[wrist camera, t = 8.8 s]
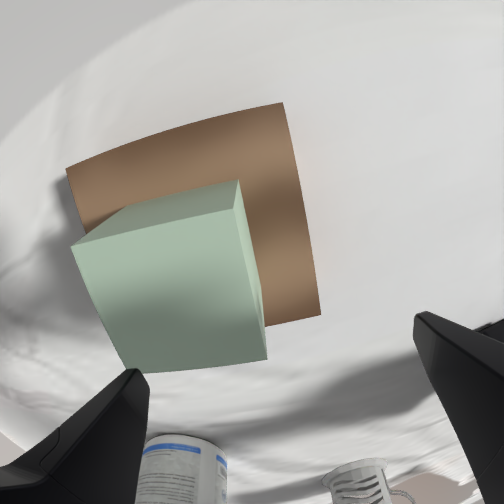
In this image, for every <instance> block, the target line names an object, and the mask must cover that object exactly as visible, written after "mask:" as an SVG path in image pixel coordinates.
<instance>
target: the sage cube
mask: <svg viewBox="0 0 504 504" xmlns="http://www.w3.org/2000/svg"><path fill="white" fill-rule="evenodd" d="M71 249H72V252H73V255H74V257H75V260H76V263H77V265H78V268H79V270H80V273H81V275H82V278H83V280H84V283H85V285H86V288H87V290H88V292H89V295H90V297H91V299H92V301H93V304H94V306H95V308H96V310H97V313H98V315H99V317H100V319H101V321H102V323H103V325H104V327H105V329H106V331H107V333H108V335H109V337H110V339H111V341H112V343H113V345H114V347H115V349H116V351H117V353H118V355H119V357H120V359H121V360H122V362H123V364H124V366H125V368H126V369H129V368H138V369H139V370H140V371H141V373H142V374H143V373H159V372H171V371H183V370H193V369H202V368H211V367H219V366H227V365H235V364H242V363H249V362H255V361H261V360H267V349H266V337H265V326H264V314H263V303H262V292H261V284H260V279H259V275H258V270H257V265H256V260H255V256H254V251H253V246H252V241H251V237H250V232H249V227H248V222H247V218H246V213H245V208H244V203H243V199H242V194H241V189H240V184H239V180H238V179H237V180H232V181H228V182H223V183H218V184H213V185H209V186H204V187H200V188H196V189H191V190H187V191H183V192H178V193H174V194H170V195H166V196H162V197H158V198H154V199H150V200H146V201H143V202H139V203H135V204H131V205H128V206H126V207H124V208H123V209H121V210H120V211H118V212H117V213H116V214H114V215H113V216H111V217H110V218H108V219H107V220H106V221H104V222H103V223H101V224H100V225H99V226H97V227H96V228H95V229H93V230H92V231H90V232H89V233H88V234H86V235H85V236H84V237H82V238H81V239H80V240H78V241H77V242H76V243H74V244H73V245H72V246H71Z"/></svg>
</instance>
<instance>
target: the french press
mask: <svg viewBox="0 0 504 504" xmlns="http://www.w3.org/2000/svg"><path fill="white" fill-rule="evenodd" d="M387 464H388V462H387V461H386V460H385V459H381V458H370V459H363V460H359V461H355V462H351V463H348V464H346V465H344V466H341V467H339V468H336V469H335V470H333V471H331V472H330V473H328V474H327V475H326V476H325V477H324V478H323V479H322V485H324V486H325V487H327V488H329V489H330V490H331V495H332V500H333V504H351V503H356V504H361V503H368V502H372V501H374V500H376V501H374V502H373V503H371V504H377V503H378V504H392V501H391V498H390V494H391V495H402V496H405V497H407V498H408V499H409V500H410V501H411V502H412V504H416V502H415V500H414V498H413V497H412V496H411V495H410V494H409V493H407V492H404V491H401V490H390V489H389V486H388V483H387V480H386V477H385V473H384V471H385V469H386V467H387ZM375 491H377V492H376V493H374V494H373V495H372V496H370V497H367V498H354V497H344V496H354V495H355V496H359V495H367V494H370V493H372V492H375ZM390 491H391V492H402V493H406V494H407V495H408V496H409V497H408V496H407V495H405V494H401V493H391V492H390ZM341 496H342V497H341ZM382 499H383V501H382V502H380V501H381V500H382ZM379 502H380V503H379Z"/></svg>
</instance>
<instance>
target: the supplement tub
mask: <svg viewBox="0 0 504 504" xmlns="http://www.w3.org/2000/svg"><path fill="white" fill-rule="evenodd" d="M135 504H227V458H226V456H225V454H224V453H223V451H222V450H221V449H219V448H218V447H217V446H215V445H214V444H212V443H210V442H208V441H205V440H202V439H199V438H195V437H190V436H185V435H176V434H172V435H162V436H158V437H155V438H153V439H151V440H150V441H148V442H147V443H146V445H145V447H144V451H143V455H142V460H141V466H140V472H139V479H138V485H137V492H136V499H135Z"/></svg>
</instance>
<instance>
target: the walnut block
mask: <svg viewBox="0 0 504 504" xmlns="http://www.w3.org/2000/svg"><path fill="white" fill-rule="evenodd" d="M66 173H67V176H68V180H69V183H70V187H71V190H72V193H73V196H74V200H75V203H76V206H77V209H78V212H79V215H80V218H81V221H82V224H83V226H84V229H85V232H86V234H88V233H89V232H90V231H92V230H93V229H95V228H96V227H97V226H99V225H100V224H101V223H103V222H104V221H106V220H107V219H108V218H110V217H111V216H113V215H114V214H116V213H117V212H118V211H120V210H121V209H123V208H124V207H126V206H128V205H131V204H135V203H139V202H143V201H146V200H150V199H154V198H158V197H162V196H166V195H170V194H174V193H178V192H183V191H187V190H191V189H196V188H200V187H204V186H209V185H213V184H218V183H223V182H228V181H232V180H237V179H238V180H239V184H240V189H241V194H242V199H243V203H244V208H245V213H246V218H247V222H248V227H249V232H250V237H251V241H252V246H253V251H254V256H255V260H256V265H257V270H258V275H259V279H260V284H261V292H262V303H263V314H264V326H265V327H267V326H272V325H277V324H282V323H286V322H291V321H296V320H300V319H305V318H309V317H314V316H318V315H321V310H320V303H319V295H318V288H317V281H316V274H315V268H314V261H313V255H312V249H311V242H310V236H309V231H308V225H307V219H306V213H305V208H304V202H303V197H302V191H301V186H300V181H299V176H298V171H297V166H296V161H295V156H294V151H293V146H292V142H291V137H290V132H289V128H288V123H287V119H286V114H285V110H284V106H283V102H282V103H276V104H271V105H266V106H261V107H256V108H251V109H246V110H242V111H237V112H233V113H229V114H225V115H221V116H217V117H213V118H209V119H205V120H201V121H198V122H194V123H190V124H187V125H183V126H180V127H177V128H173V129H170V130H167V131H163V132H160V133H157V134H154V135H151V136H148V137H145V138H142V139H139V140H136V141H133V142H131V143H128V144H125V145H122V146H120V147H117V148H114V149H112V150H109V151H106V152H104V153H101V154H99V155H96V156H94V157H91V158H89V159H86V160H84V161H82V162H79V163H77V164H75V165H72V166H70V167H68V168H66Z"/></svg>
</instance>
